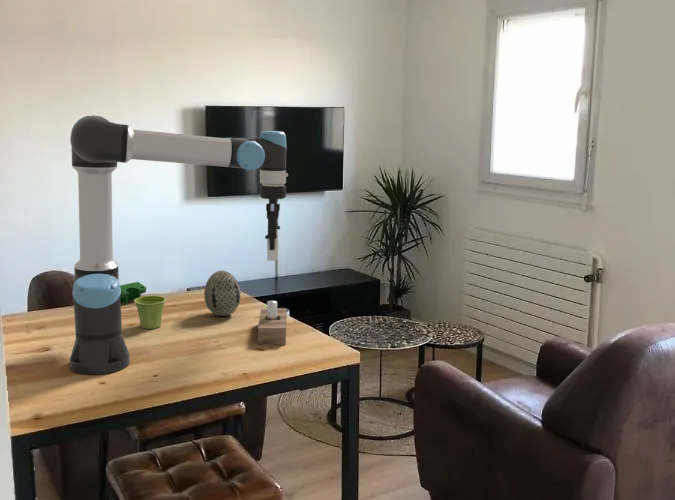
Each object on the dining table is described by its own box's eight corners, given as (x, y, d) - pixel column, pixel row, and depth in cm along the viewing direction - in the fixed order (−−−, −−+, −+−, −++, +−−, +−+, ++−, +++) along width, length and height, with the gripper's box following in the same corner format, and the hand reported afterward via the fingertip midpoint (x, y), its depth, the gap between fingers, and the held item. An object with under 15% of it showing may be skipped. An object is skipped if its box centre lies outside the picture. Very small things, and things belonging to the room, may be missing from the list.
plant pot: (168, 329, 223) (167, 302, 221) (137, 332, 220) (136, 304, 218) (164, 320, 232) (163, 294, 230) (133, 323, 228) (132, 296, 226)
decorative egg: (230, 322, 231) (230, 276, 228) (198, 318, 235) (197, 273, 232) (246, 312, 242) (246, 268, 239) (214, 308, 246) (214, 265, 243)
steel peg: (277, 334, 220) (277, 303, 218) (267, 334, 220) (267, 303, 218) (277, 331, 223) (277, 300, 221) (267, 331, 223) (267, 300, 221)
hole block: (285, 344, 212) (285, 328, 211) (258, 344, 211) (258, 328, 210) (286, 323, 231) (286, 308, 230) (261, 323, 231) (261, 308, 230)
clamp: (122, 317, 249) (116, 297, 244) (112, 309, 253) (106, 290, 247) (151, 298, 256) (145, 279, 250) (141, 291, 259) (135, 272, 254)
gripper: (285, 190, 200) (284, 265, 204) (286, 180, 224) (285, 247, 229) (258, 189, 199) (258, 264, 204) (262, 179, 224) (261, 247, 228)
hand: (272, 255), depth 216 cm, fingers open, 13 cm apart
